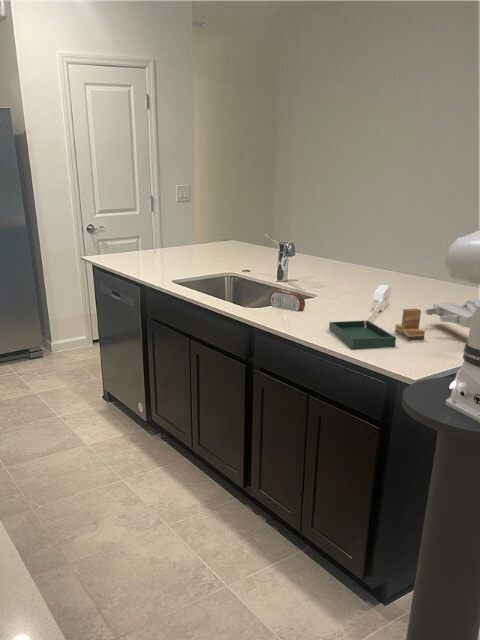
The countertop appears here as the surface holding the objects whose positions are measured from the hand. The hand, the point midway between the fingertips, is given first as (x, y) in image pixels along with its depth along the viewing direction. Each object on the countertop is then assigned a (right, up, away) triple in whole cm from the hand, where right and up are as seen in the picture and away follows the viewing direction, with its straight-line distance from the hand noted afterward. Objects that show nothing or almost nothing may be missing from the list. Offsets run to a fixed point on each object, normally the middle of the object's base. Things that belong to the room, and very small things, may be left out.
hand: (433, 315), depth 177 cm
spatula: (-12, +3, +25) cm, 27 cm away
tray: (-23, -7, +1) cm, 24 cm away
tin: (-41, +6, +38) cm, 56 cm away
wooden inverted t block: (-7, -7, +2) cm, 10 cm away
